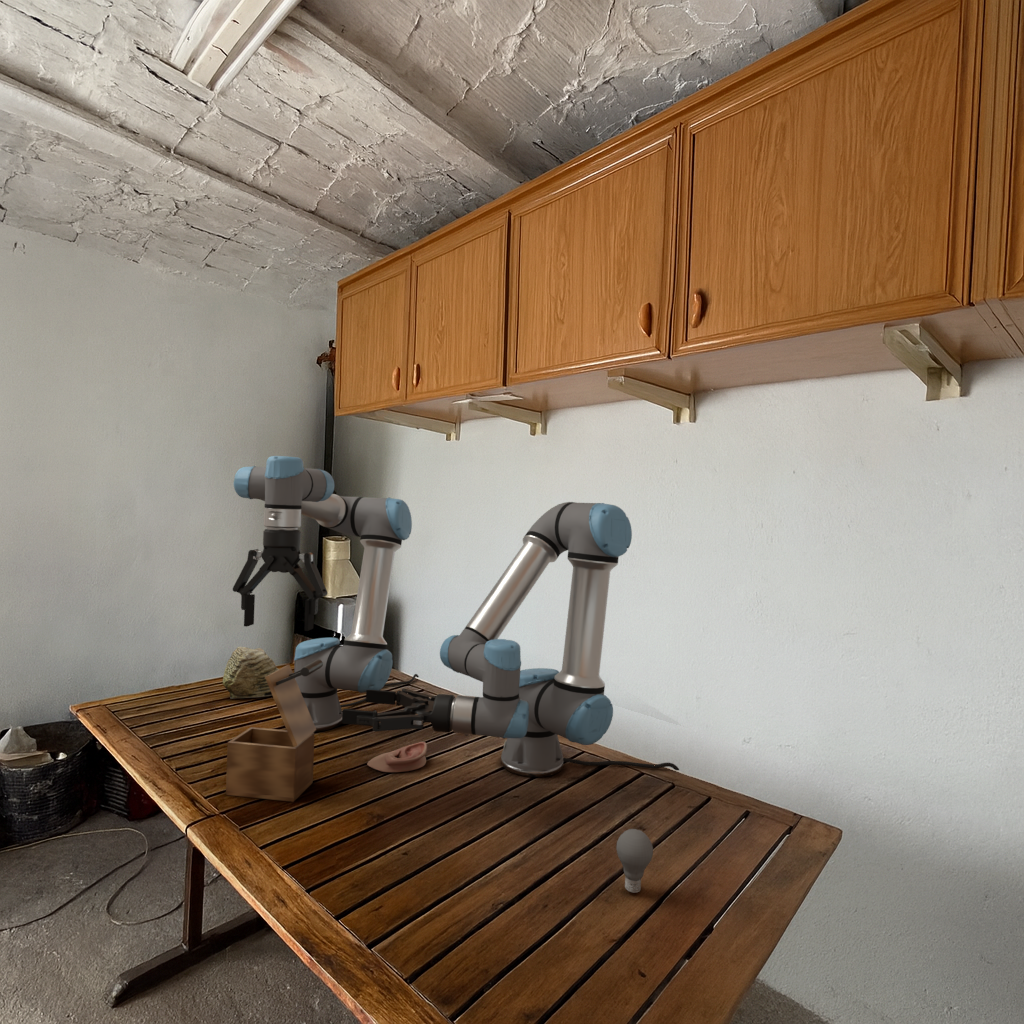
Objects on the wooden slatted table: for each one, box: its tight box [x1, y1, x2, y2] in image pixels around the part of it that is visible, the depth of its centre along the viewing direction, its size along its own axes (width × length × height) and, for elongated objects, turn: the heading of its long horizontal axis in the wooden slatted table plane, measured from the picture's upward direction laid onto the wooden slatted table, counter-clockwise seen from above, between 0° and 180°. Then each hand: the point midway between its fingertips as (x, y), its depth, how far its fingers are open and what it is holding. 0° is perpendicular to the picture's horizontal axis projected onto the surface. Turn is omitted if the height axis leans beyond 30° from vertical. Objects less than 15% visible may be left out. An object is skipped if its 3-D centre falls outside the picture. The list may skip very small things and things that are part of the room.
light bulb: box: [615, 828, 654, 894], centre depth 106 cm, size 6×6×10 cm
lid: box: [265, 659, 323, 747], centre depth 135 cm, size 16×9×9 cm
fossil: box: [222, 646, 280, 699], centre depth 198 cm, size 9×18×15 cm, turn 132°
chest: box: [225, 726, 316, 803], centre depth 136 cm, size 15×9×11 cm, turn 83°
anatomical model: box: [366, 741, 428, 773], centre depth 152 cm, size 13×4×12 cm
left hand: (278, 627), depth 136 cm, fingers open, 13 cm apart
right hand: (355, 705), depth 134 cm, fingers open, 13 cm apart
